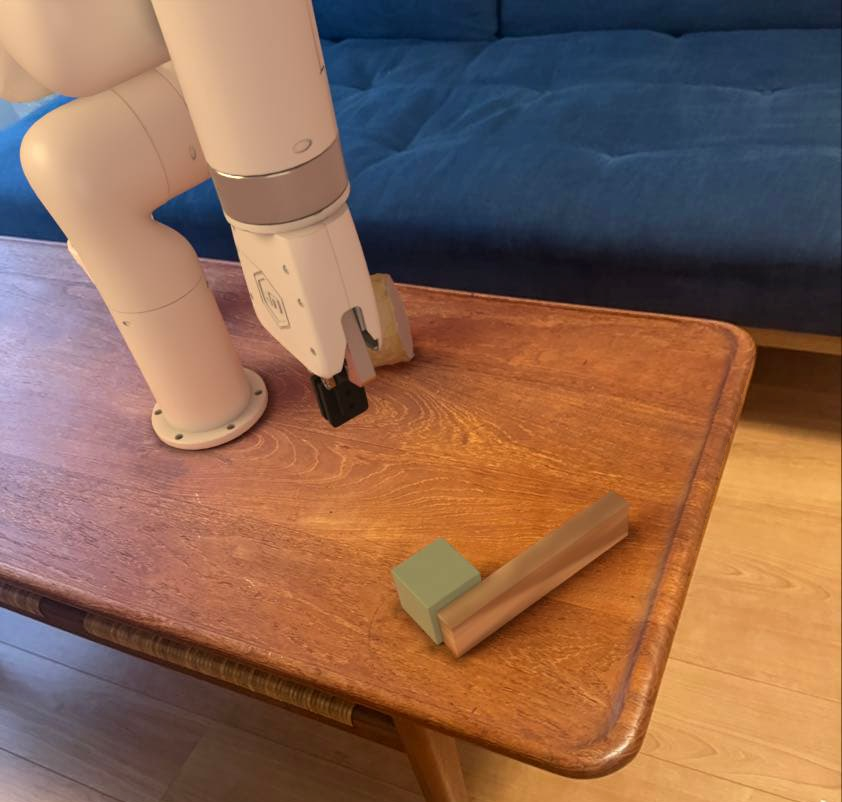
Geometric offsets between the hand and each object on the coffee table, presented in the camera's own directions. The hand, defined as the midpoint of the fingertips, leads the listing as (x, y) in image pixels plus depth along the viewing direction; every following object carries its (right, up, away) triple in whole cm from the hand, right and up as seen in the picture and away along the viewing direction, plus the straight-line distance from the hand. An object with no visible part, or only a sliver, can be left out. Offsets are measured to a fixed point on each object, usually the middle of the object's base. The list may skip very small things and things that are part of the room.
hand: (346, 413), depth 61 cm
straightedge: (+15, -13, +5) cm, 21 cm away
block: (+7, -15, +6) cm, 18 cm away
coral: (+1, +11, +29) cm, 31 cm away
